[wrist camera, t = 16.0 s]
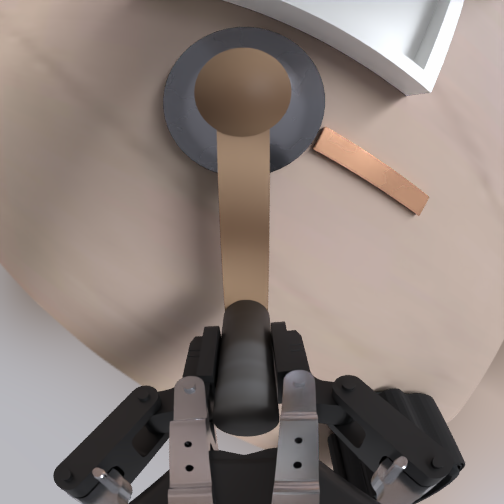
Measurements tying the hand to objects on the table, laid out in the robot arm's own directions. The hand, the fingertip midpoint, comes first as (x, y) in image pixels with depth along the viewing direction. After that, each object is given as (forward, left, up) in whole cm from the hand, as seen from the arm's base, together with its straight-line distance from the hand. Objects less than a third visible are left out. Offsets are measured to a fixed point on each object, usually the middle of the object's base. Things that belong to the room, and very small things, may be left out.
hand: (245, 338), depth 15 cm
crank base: (-11, -1, -6) cm, 12 cm away
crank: (-6, -3, -4) cm, 8 cm away
